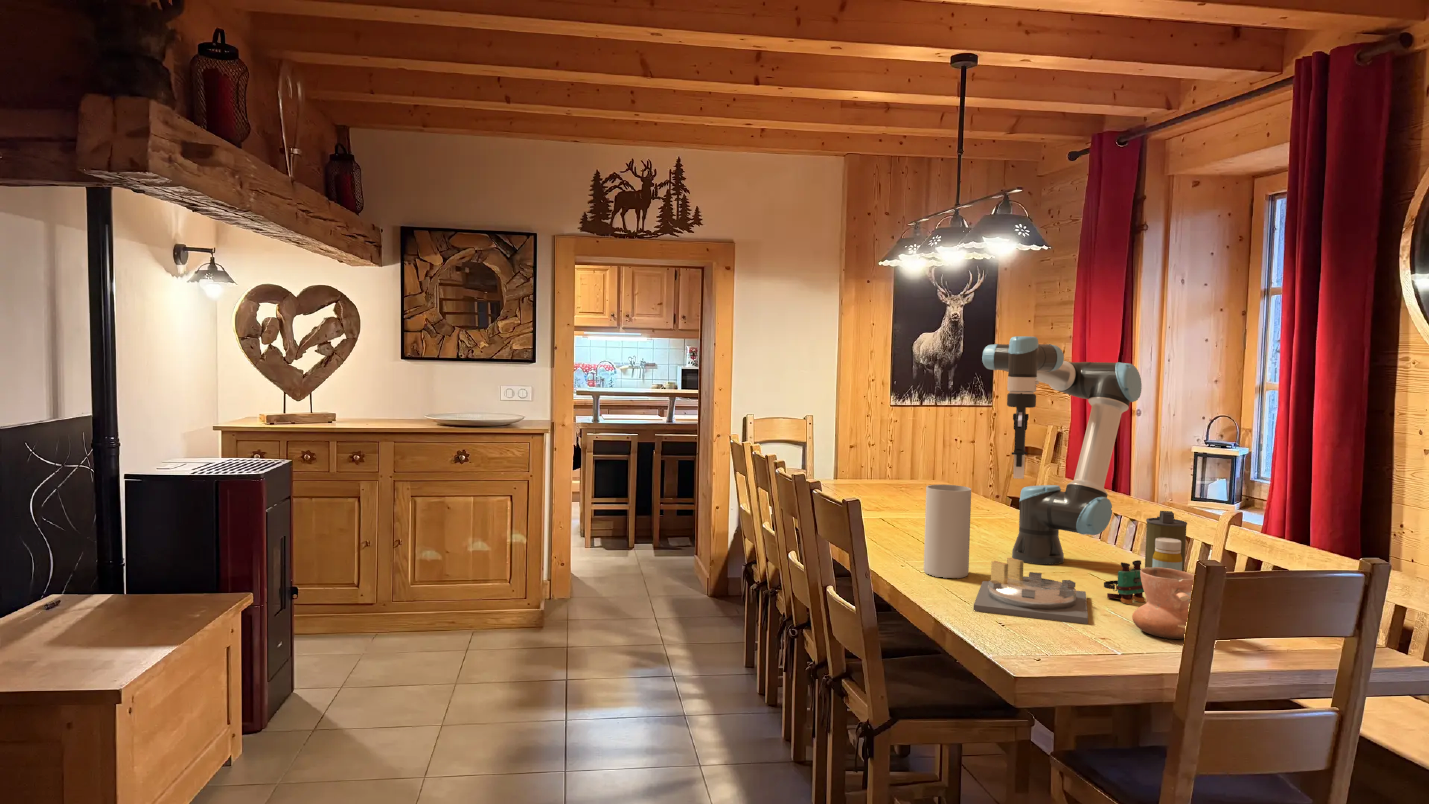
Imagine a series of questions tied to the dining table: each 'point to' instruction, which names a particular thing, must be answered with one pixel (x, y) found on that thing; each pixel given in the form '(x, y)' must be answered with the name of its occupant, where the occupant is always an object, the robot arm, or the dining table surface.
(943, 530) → the cylinder vase
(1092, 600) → the dining table surface
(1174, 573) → the ceramic jug
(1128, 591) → the binoculars
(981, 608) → the base board
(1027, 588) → the oval turntable platform
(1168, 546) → the bottle
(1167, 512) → the canister
